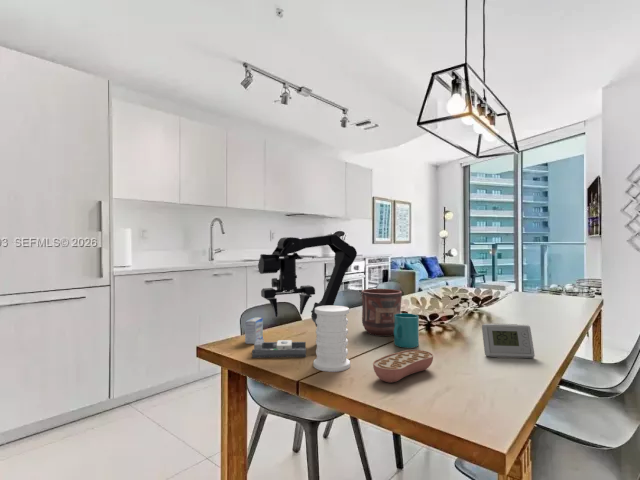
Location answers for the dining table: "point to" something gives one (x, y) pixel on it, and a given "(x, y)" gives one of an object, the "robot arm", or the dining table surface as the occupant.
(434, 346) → the dining table surface
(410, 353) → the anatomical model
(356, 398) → the dining table surface
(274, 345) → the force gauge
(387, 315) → the pottery
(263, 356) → the gauge stand
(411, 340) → the cup
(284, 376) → the dining table surface
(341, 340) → the decorative container
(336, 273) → the robot arm
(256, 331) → the medicine box
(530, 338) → the digital thermostat
